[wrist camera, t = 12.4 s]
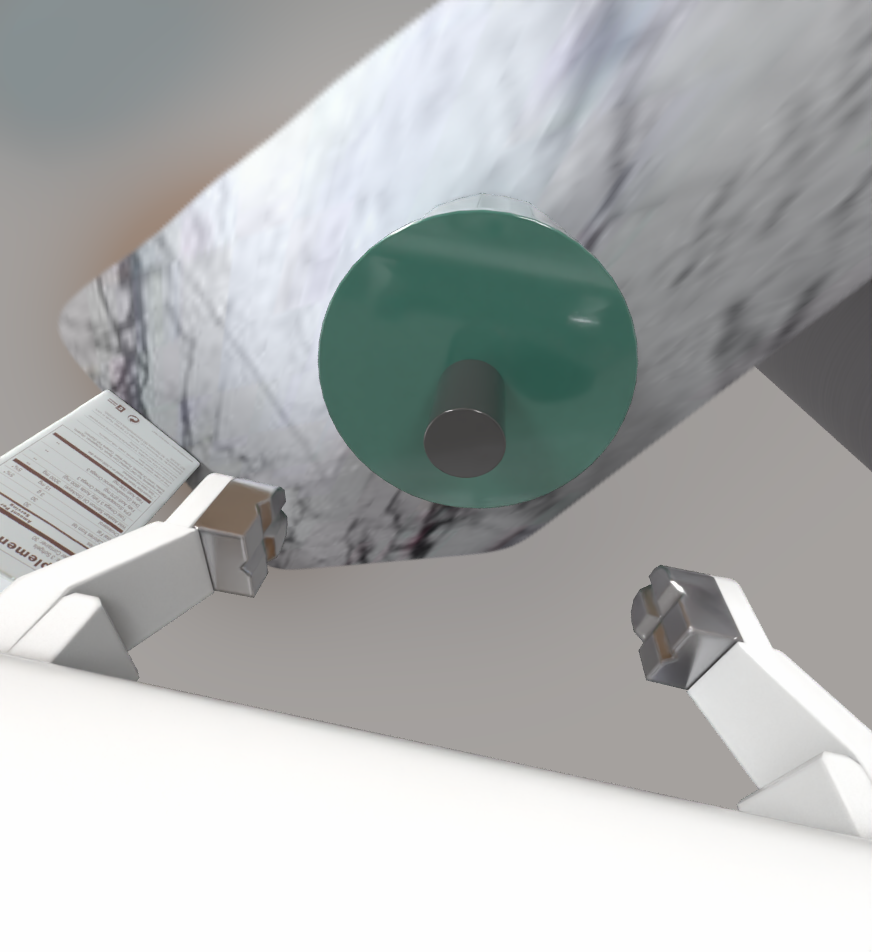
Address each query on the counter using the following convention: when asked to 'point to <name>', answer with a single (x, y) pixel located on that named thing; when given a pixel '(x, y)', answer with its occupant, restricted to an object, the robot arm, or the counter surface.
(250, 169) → the counter surface
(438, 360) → the lid
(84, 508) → the white packaging box
